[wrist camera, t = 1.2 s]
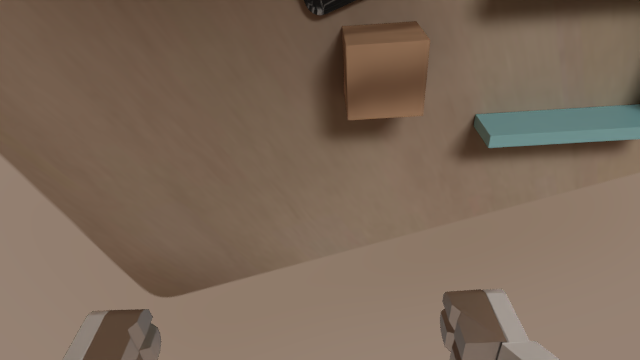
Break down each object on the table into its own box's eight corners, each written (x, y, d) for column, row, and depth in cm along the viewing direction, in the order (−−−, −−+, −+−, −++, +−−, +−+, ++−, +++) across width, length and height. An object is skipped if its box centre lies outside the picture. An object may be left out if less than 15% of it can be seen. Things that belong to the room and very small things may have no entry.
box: (504, -46, 30) (527, -38, 27) (730, -62, 30) (780, -55, 27) (473, 125, 39) (488, 148, 36) (649, 115, 39) (680, 136, 35)
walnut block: (342, 26, 34) (346, 45, 29) (415, 20, 33) (430, 40, 29) (344, 94, 37) (347, 120, 33) (410, 90, 37) (423, 115, 33)
